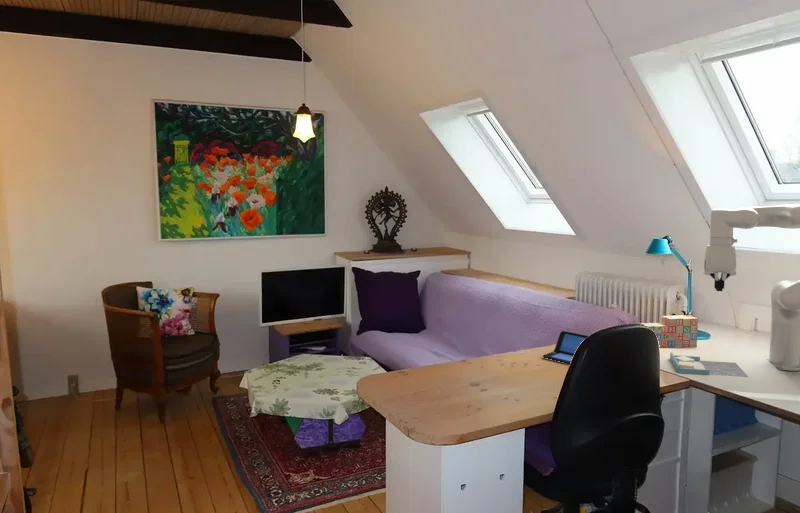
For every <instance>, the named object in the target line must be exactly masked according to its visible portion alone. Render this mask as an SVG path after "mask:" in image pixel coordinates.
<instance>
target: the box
mask: <svg viewBox="0 0 800 513" xmlns="http://www.w3.org/2000/svg"><path fill="white" fill-rule="evenodd" d="M680 356H681V355H675V354H674V353H673V352H670V354H669V357H670V358H669V359H670V362H671V363H672V365H673V366H674V369H675V370H676V372H677V373H678V374H694V375H709V372H710V370H706V369H705V368H704V369H703V368H702V369H701V368H694V369H689V368H680V365H679V363H678V362H677V360H676V358H675V357H680ZM684 356H685V357H688V358H691V359H694V362H700V361H701V357H700V356H692V355H684ZM709 376H710V375H709Z"/></svg>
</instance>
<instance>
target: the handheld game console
mask: <svg viewBox="0 0 800 513" xmlns="http://www.w3.org/2000/svg"><path fill="white" fill-rule="evenodd" d="M588 336H589V335H584V334H581V333H580V334H579V333H576V332H571V331H565V330H562V331H560V333H559V335H558V338H557V341H556V344H555V347H554V349H553V351H552V352H548V353H546V354H543V355H542V358H543V357H544V358H548V359H552V360H556V361H560V362H564V363H567V364H570V362H571V359H572V357H573V355H574V353H575V351H576V349H577V347H578V346H579V345H580V343H581V342H582V341H583V340H584V339H586V338H587V337H588ZM544 358H543V359H544ZM567 364H566V365H567Z"/></svg>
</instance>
